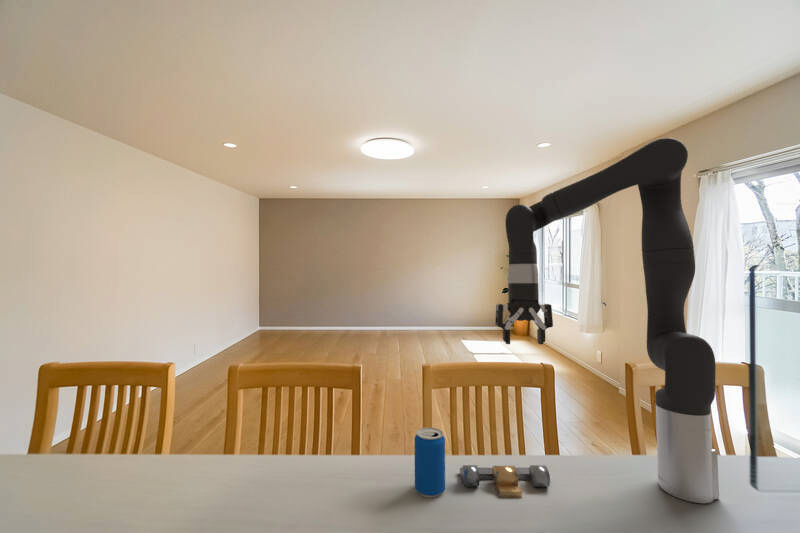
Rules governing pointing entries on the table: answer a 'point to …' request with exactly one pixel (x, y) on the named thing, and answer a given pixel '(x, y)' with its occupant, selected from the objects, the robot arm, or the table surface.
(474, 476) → the grey metal dumbbell
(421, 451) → the beverage can
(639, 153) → the robot arm
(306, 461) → the table surface
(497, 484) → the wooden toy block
